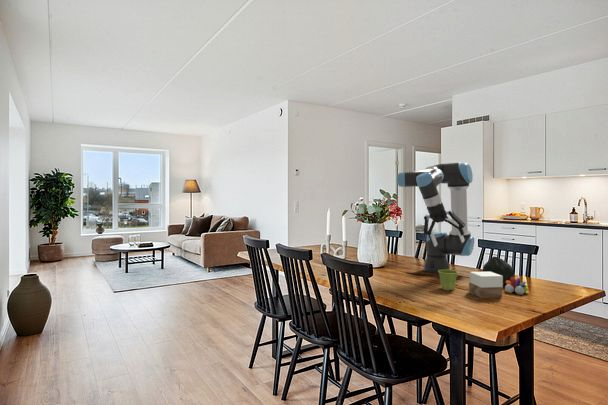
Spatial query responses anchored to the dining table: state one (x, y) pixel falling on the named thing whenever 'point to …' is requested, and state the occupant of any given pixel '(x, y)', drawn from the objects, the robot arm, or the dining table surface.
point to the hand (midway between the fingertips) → (449, 243)
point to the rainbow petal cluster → (516, 286)
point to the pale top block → (486, 279)
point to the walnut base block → (485, 291)
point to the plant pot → (448, 279)
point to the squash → (499, 268)
